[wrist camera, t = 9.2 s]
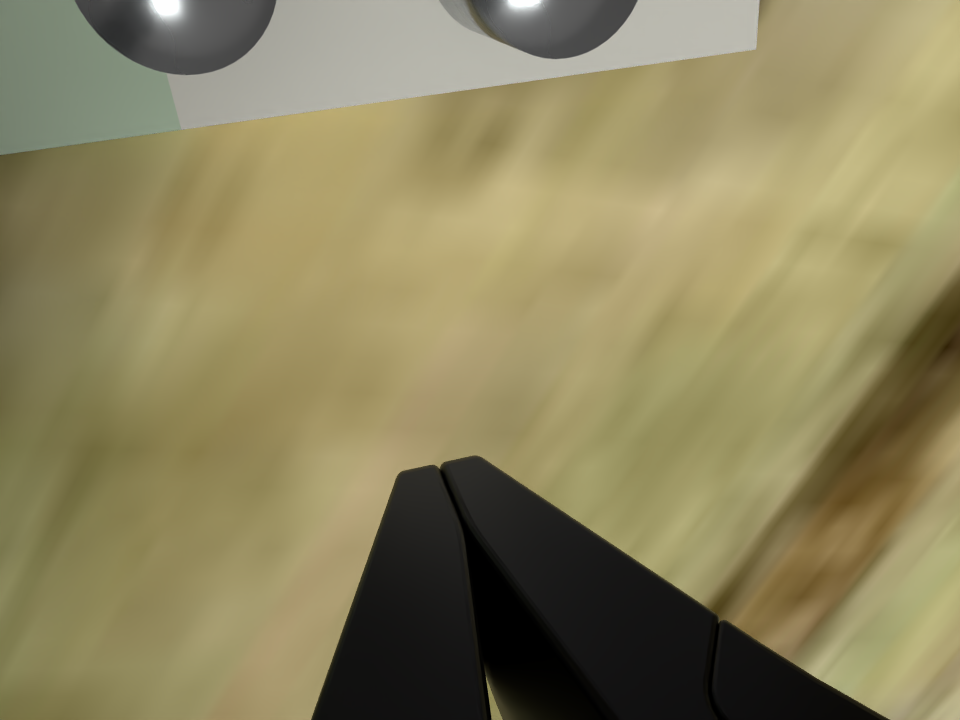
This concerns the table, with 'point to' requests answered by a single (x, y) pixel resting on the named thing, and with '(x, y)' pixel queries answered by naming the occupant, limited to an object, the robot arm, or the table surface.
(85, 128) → the tray
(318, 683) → the table surface
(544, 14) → the spacer posts
